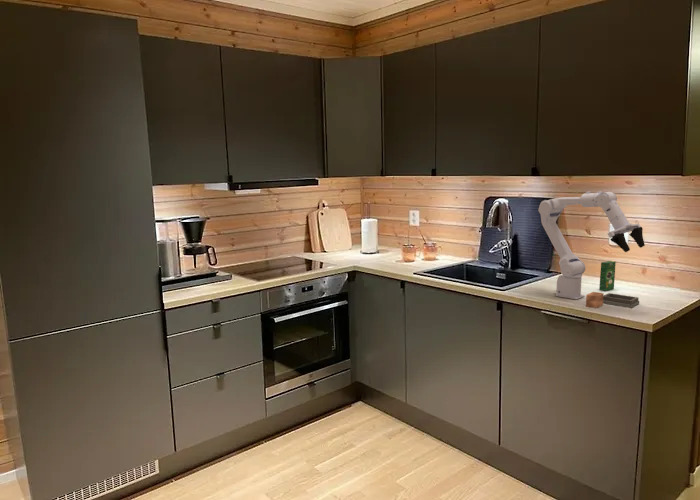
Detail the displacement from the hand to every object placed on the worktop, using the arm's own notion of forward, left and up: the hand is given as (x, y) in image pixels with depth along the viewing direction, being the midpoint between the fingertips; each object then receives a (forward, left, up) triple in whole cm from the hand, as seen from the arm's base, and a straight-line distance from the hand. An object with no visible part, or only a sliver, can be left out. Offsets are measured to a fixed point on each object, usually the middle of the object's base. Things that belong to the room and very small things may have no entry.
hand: (635, 248), depth 205 cm
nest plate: (-7, +7, -24) cm, 26 cm away
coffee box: (-20, +27, -24) cm, 41 cm away
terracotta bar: (-13, -4, -24) cm, 28 cm away
